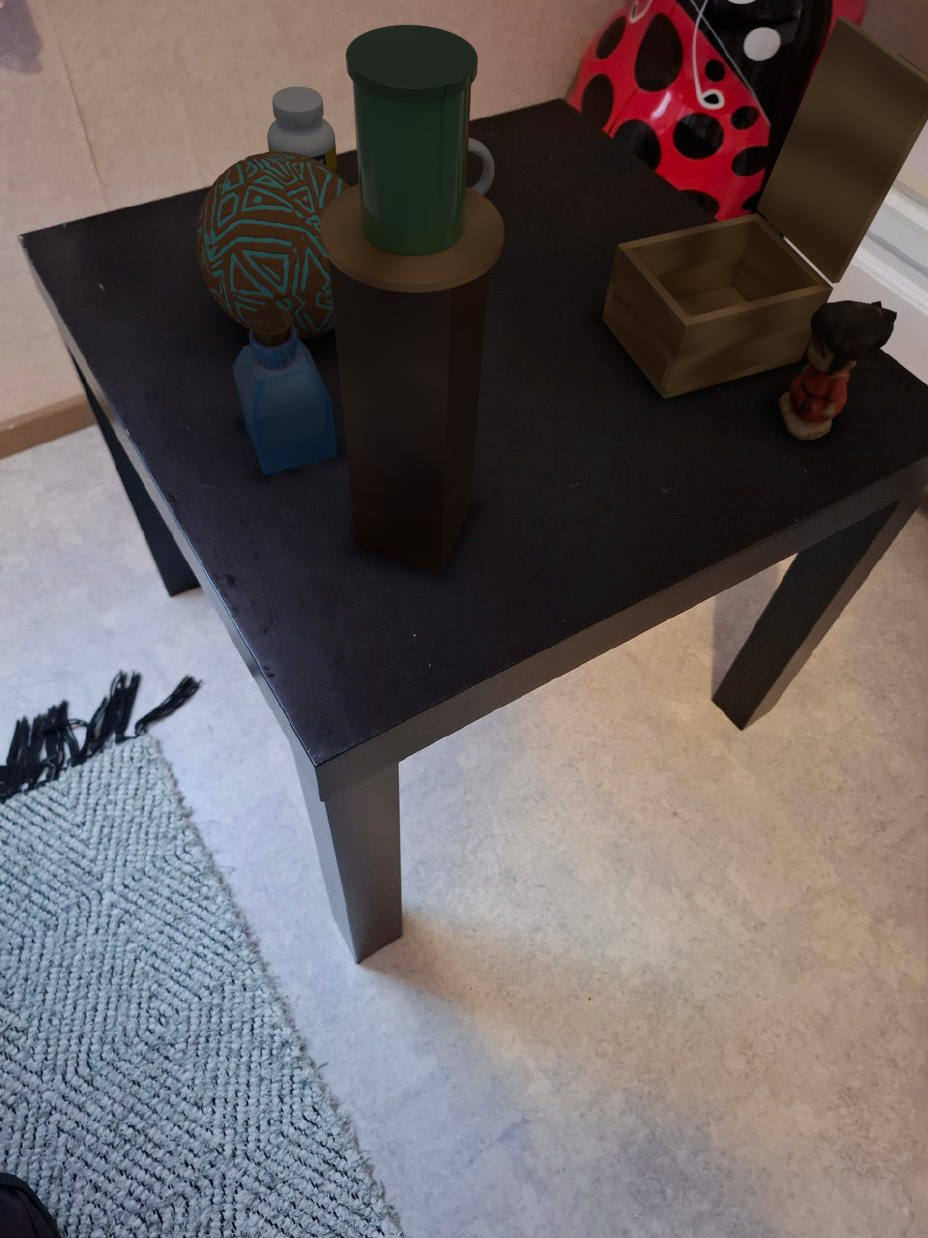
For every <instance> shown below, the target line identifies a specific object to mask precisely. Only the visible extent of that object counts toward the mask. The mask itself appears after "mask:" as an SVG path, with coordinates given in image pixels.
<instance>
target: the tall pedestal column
mask: <svg viewBox="0 0 928 1238" xmlns="http://www.w3.org/2000/svg"><path fill="white" fill-rule="evenodd" d="M349 187H350V188H348V189H346V190H345V191H343V192H342V193H340V194H339V195H338V196H336V197H335V198H334V199H333V200H332V201H331V202H330V203H329V204H328V206H327V207H326V209H325V210H324V212H323V215H322V217H321V221H320V237H321V243H322V247H323V250H324V252H325V253H326V255H327V257H328V260H329V271H330V281H331V292H332V302H333V313H334V323H335V329H334V331H335V341H336V342H335V343H336V353H337V364H338V373H339V384H340V394H341V395H340V396H341V403H342V404H341V405H342V406H341V407H342V415H343V416H342V417H343V426H344V438H345V447H346V458H347V467H348V478H349V489H350V501H351V510H352V511H351V512H352V520H353V521H352V522H353V531H354V541H355V547H356V548H359V549H362V550H365V551H368V552H372V553H374V554H377V555H378V554H379V555H381V556H384V557H388V558H390V559H394V560H397V561H400V562H403V563H407V564H410V565H414V566H417V567H420V568H423V569H427V570H430V571H433V572H437V573H439V574H441V573H443V570H444V568H445V565H446V563H447V561H448V559H449V556H450V554H451V552H452V550H453V547H454V545H455V543H456V542H457V538H458V537H459V534H460V532H461V530H462V528H463V526H464V523H465V521H466V519H467V517H468V514H469V512H470V510H471V508H472V497H473V496H472V495H473V481H474V471H475V469H474V468H475V455H476V454H475V453H476V441H477V429H478V418H479V417H478V415H479V404H480V402H479V401H480V390H481V376H482V366H483V365H482V362H483V351H484V349H483V348H484V337H485V324H486V323H485V322H486V310H487V298H488V284H489V272H490V271H489V270H490V269H491V268H492V267H493V266H494V265H495V264H496V262H497V261H498V259H499V258H500V256H501V254H502V252H503V248H504V244H505V225H504V219H503V217H502V216H501V213H500V211H499V210H498V209H497V207H496V206H495V205H494V204H493V203H492V202H491V201H490V200H489V199H488V198H486V196H485V195H484V196H483V195H481V194H480V193H478V192H476V191H475V190H473V189H471V187H469V186H466V207H465V228H464V232H463V234H462V236H461V238H460V239H459V240H458V241H457V242H456V243H455V244H454V245H453V246H451V247H449V248H448V249H446V250H443V251H441V252H438V253H434V254H429V255H422V256H407V255H400V254H395V253H391V252H388V251H385V250H383V249H381V248H379V247H377V246H376V245H374V244H373V243H371V242H370V241H369V240H368V239H367V238H366V236H365V235H364V233H363V231H362V228H361V215H360V198H359V183H356V184H354V185H352V186H349Z"/></svg>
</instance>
